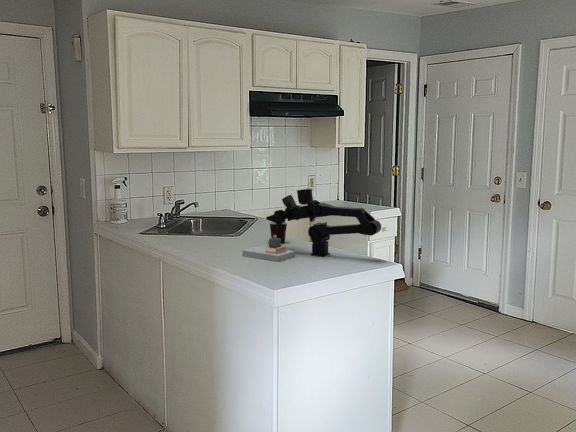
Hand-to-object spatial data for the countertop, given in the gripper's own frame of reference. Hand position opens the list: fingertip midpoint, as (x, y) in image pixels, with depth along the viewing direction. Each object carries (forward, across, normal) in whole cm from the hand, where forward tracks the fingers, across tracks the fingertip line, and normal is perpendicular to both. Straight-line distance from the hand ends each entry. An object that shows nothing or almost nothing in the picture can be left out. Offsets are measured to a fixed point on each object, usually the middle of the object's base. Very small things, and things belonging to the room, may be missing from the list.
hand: (271, 216), depth 258 cm
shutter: (-7, +15, +14) cm, 22 cm away
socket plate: (-3, +14, +16) cm, 21 cm away
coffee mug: (+8, -14, +15) cm, 22 cm away
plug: (-1, +4, +16) cm, 16 cm away
